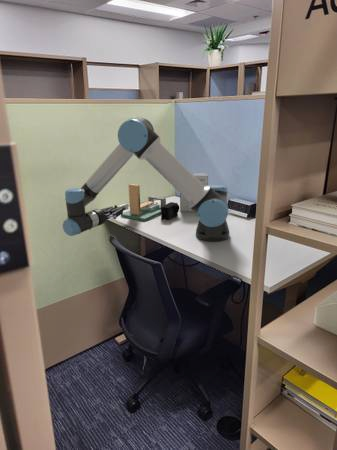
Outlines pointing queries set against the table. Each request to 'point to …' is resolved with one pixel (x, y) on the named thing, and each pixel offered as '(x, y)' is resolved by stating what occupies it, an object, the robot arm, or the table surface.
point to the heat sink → (151, 207)
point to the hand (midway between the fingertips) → (127, 206)
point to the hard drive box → (183, 201)
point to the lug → (151, 199)
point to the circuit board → (143, 215)
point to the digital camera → (169, 211)
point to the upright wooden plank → (136, 200)
